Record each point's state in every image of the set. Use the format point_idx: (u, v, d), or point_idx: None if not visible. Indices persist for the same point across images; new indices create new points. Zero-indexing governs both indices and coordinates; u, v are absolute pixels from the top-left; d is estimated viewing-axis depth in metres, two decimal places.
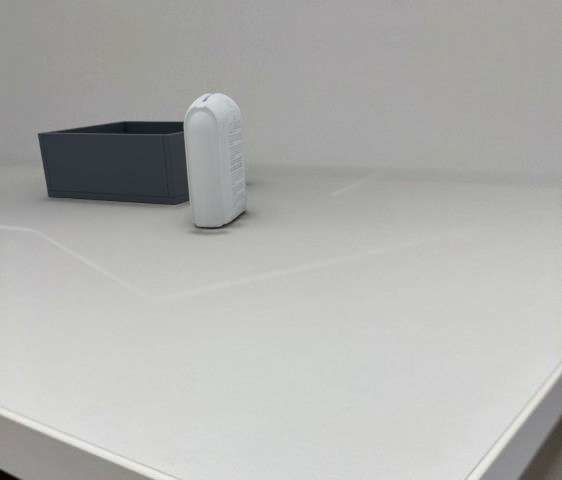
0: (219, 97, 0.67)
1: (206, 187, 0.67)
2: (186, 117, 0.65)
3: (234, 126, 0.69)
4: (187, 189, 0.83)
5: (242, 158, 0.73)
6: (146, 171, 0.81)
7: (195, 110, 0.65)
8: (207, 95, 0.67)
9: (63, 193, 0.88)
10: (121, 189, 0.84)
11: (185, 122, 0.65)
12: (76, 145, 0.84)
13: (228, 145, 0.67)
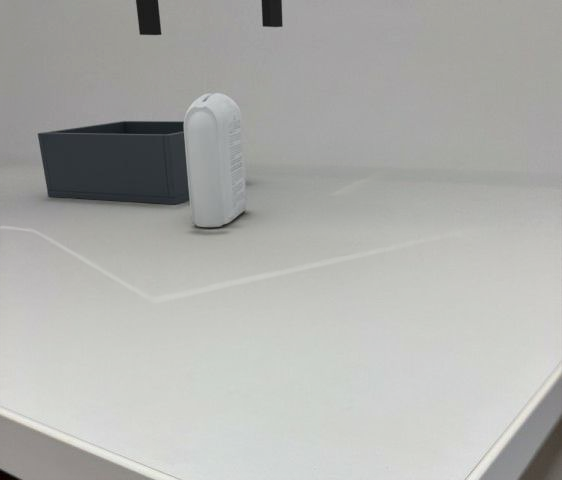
0: (219, 97, 0.67)
1: (206, 187, 0.67)
2: (186, 117, 0.65)
3: (234, 126, 0.69)
4: (187, 189, 0.83)
5: (242, 158, 0.73)
6: (146, 171, 0.81)
7: (195, 110, 0.65)
8: (207, 95, 0.67)
9: (63, 193, 0.88)
10: (121, 189, 0.84)
11: (185, 122, 0.65)
12: (76, 145, 0.84)
13: (228, 145, 0.67)
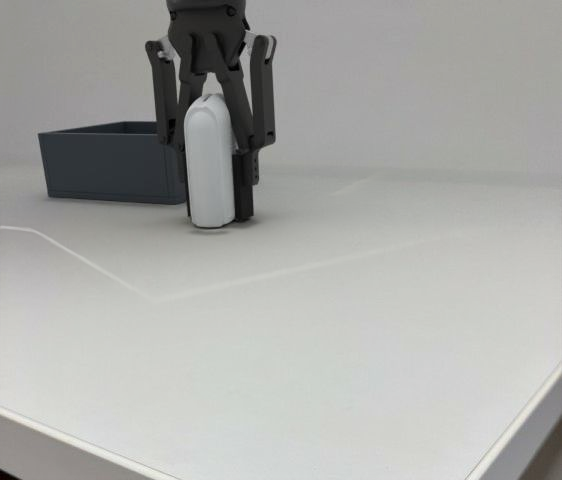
0: (220, 97, 0.67)
1: (206, 187, 0.67)
2: (186, 117, 0.65)
3: None
4: None
5: None
6: (146, 171, 0.81)
7: (196, 110, 0.65)
8: (208, 95, 0.67)
9: (63, 193, 0.88)
10: (121, 189, 0.84)
11: (185, 122, 0.65)
12: (76, 145, 0.84)
13: (229, 145, 0.67)
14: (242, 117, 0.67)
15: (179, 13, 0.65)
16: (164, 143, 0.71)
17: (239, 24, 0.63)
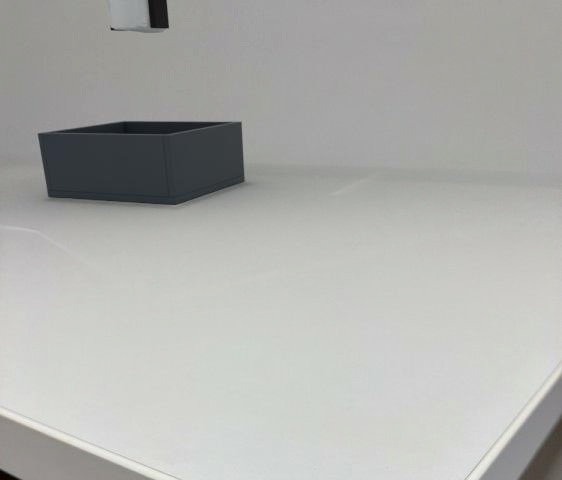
0: None
1: None
2: None
3: None
4: (187, 189, 0.83)
5: None
6: (146, 171, 0.81)
7: None
8: None
9: (63, 193, 0.88)
10: (121, 189, 0.84)
11: None
12: (76, 145, 0.84)
13: None
14: None
15: None
16: None
17: None
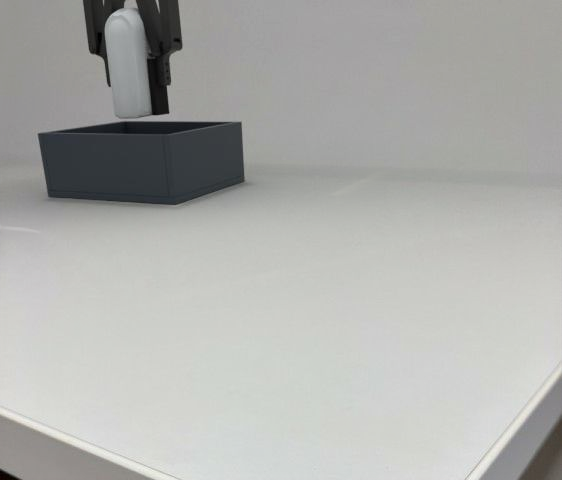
0: (135, 10, 0.82)
1: (124, 83, 0.82)
2: (106, 24, 0.80)
3: None
4: (187, 189, 0.83)
5: None
6: (146, 171, 0.81)
7: (113, 18, 0.80)
8: (126, 9, 0.83)
9: (63, 193, 0.88)
10: (121, 189, 0.84)
11: (106, 28, 0.80)
12: (76, 145, 0.84)
13: (143, 50, 0.83)
14: (153, 26, 0.82)
15: None
16: (94, 52, 0.86)
17: None
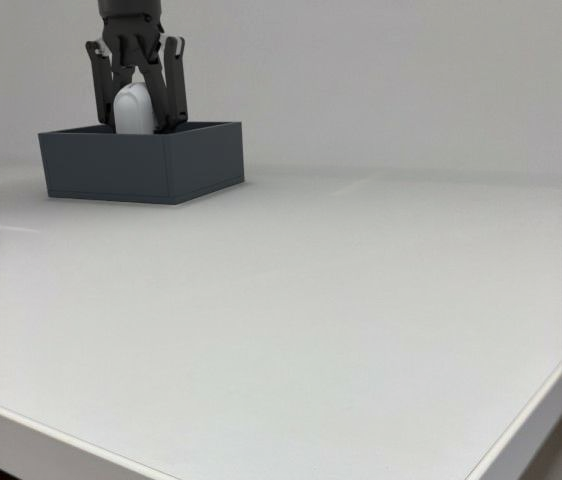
0: (143, 85, 0.85)
1: None
2: (115, 100, 0.84)
3: None
4: (187, 189, 0.83)
5: None
6: (146, 171, 0.81)
7: (122, 95, 0.83)
8: (134, 83, 0.86)
9: (63, 193, 0.88)
10: (121, 189, 0.84)
11: (114, 104, 0.84)
12: (76, 145, 0.84)
13: (150, 123, 0.86)
14: (160, 100, 0.85)
15: (110, 19, 0.84)
16: (103, 122, 0.90)
17: (154, 28, 0.82)
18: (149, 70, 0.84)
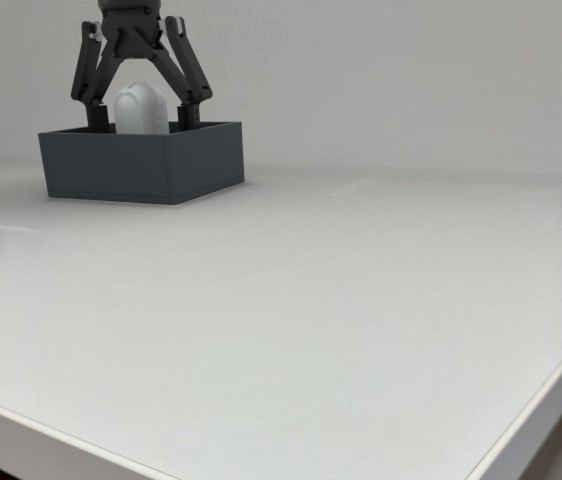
0: (142, 85, 0.85)
1: None
2: (115, 100, 0.84)
3: (156, 108, 0.87)
4: (187, 189, 0.83)
5: (166, 134, 0.92)
6: (146, 171, 0.81)
7: (122, 95, 0.83)
8: (134, 83, 0.86)
9: (63, 193, 0.88)
10: (121, 189, 0.84)
11: (114, 104, 0.84)
12: (76, 145, 0.84)
13: (150, 123, 0.86)
14: (176, 78, 0.83)
15: (109, 12, 0.83)
16: (74, 99, 0.90)
17: (153, 21, 0.82)
18: (156, 54, 0.83)
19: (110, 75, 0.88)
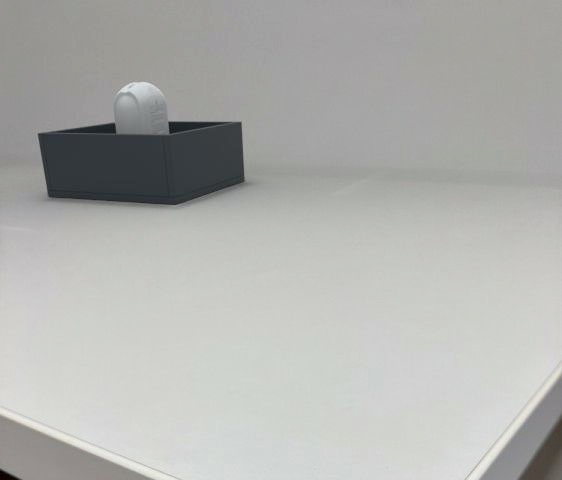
0: (142, 85, 0.85)
1: None
2: (115, 100, 0.84)
3: (156, 108, 0.87)
4: (187, 189, 0.83)
5: (166, 134, 0.92)
6: (146, 171, 0.81)
7: (121, 95, 0.83)
8: (134, 83, 0.86)
9: (63, 193, 0.88)
10: (121, 189, 0.84)
11: (114, 104, 0.84)
12: (76, 145, 0.84)
13: (150, 123, 0.86)
14: None
15: None
16: None
17: None
18: None
19: None
